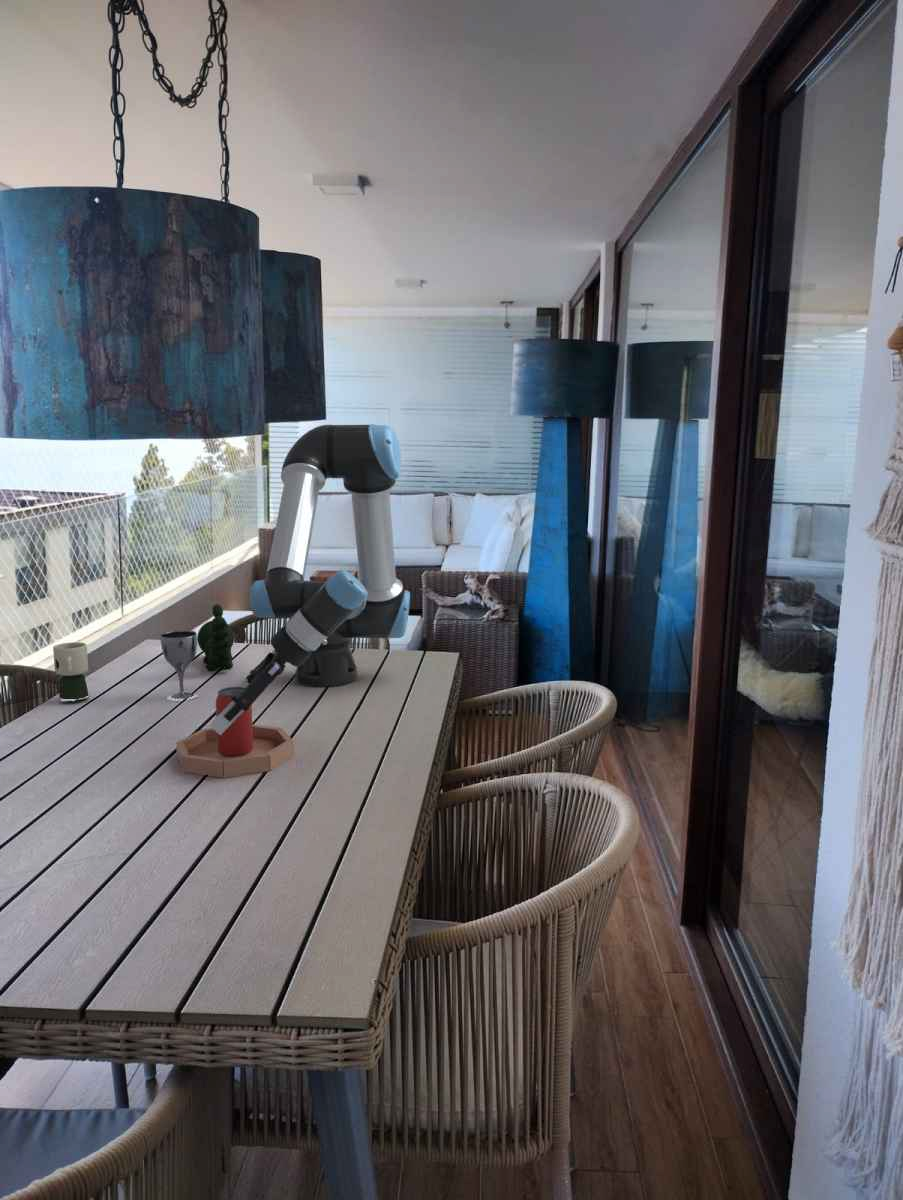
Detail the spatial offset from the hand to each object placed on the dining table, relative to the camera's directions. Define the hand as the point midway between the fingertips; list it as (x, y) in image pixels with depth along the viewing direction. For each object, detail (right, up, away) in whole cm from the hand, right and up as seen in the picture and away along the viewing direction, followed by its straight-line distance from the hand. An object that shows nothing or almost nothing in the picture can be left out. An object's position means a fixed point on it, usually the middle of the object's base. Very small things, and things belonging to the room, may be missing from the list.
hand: (221, 718), depth 179 cm
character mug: (-43, -1, +38) cm, 57 cm away
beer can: (+2, -7, +2) cm, 7 cm away
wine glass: (-19, 0, +41) cm, 45 cm away
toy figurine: (-17, +5, +68) cm, 71 cm away
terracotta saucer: (+2, -7, +2) cm, 8 cm away
